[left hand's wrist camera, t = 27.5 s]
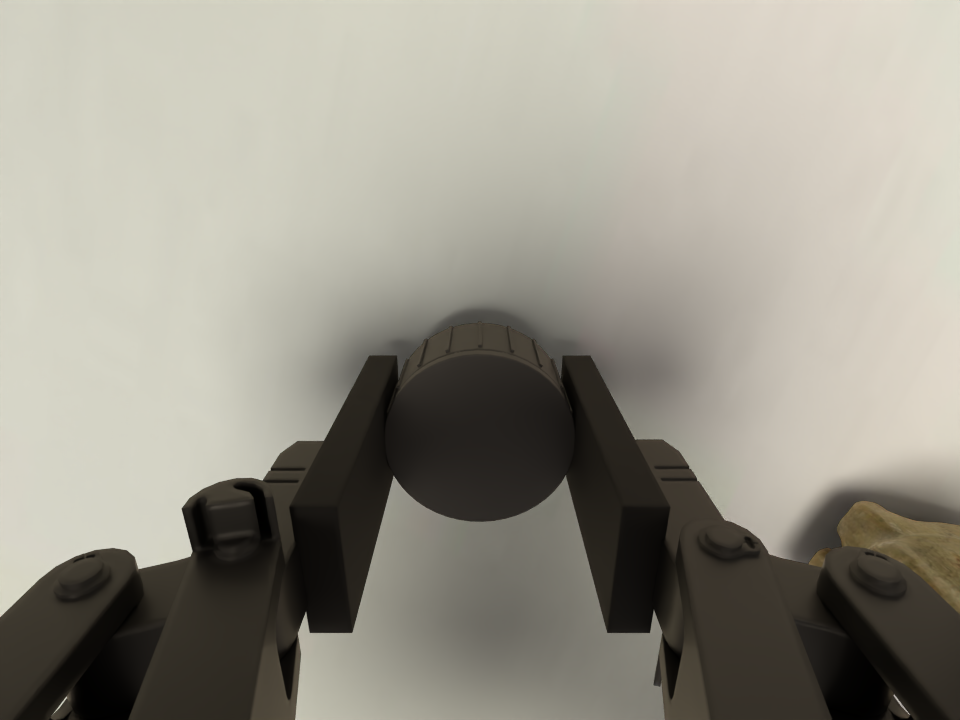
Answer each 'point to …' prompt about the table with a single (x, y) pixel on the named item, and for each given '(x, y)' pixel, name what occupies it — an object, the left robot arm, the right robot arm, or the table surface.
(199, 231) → the table surface
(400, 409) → the cap
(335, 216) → the table surface
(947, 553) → the sculpture
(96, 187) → the table surface
